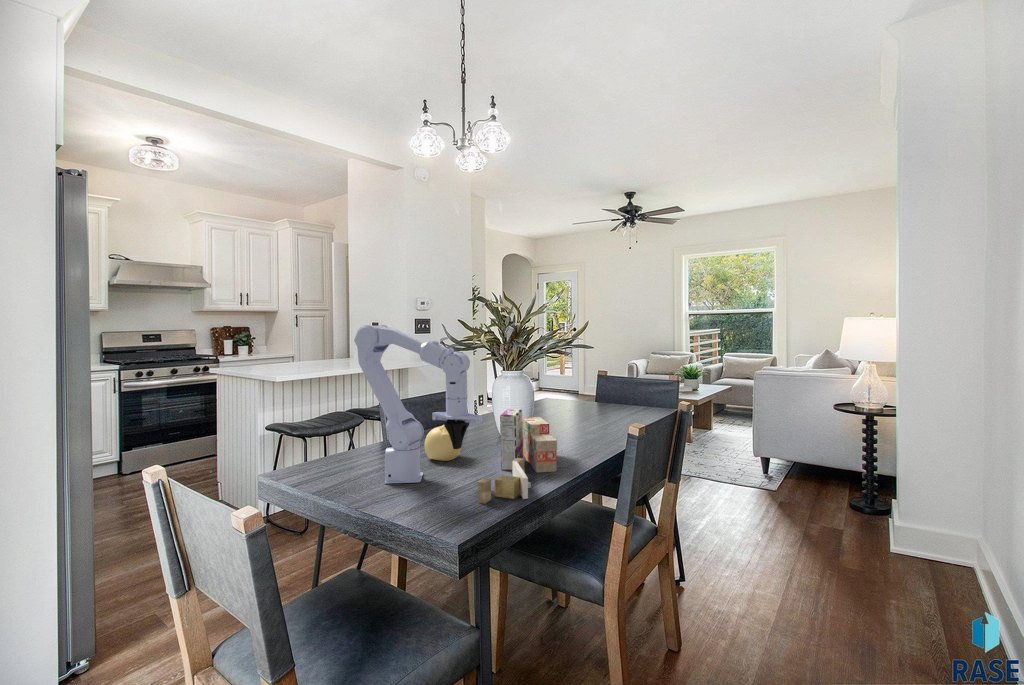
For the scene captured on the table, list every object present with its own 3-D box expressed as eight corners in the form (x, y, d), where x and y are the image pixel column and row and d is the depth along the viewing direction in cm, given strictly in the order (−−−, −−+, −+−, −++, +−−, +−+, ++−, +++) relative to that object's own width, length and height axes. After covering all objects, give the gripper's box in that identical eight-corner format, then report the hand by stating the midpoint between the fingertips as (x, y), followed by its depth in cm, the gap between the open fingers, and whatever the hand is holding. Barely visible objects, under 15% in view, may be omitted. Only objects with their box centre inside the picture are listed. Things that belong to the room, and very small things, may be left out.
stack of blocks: (557, 472, 140) (557, 429, 140) (535, 473, 139) (535, 430, 139) (540, 453, 161) (540, 416, 161) (522, 454, 160) (522, 417, 160)
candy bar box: (507, 460, 153) (507, 408, 152) (523, 460, 152) (523, 408, 151) (499, 470, 142) (499, 414, 142) (516, 471, 141) (516, 414, 141)
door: (523, 498, 117) (522, 478, 117) (512, 479, 132) (512, 461, 132) (532, 498, 118) (531, 477, 118) (520, 479, 133) (520, 461, 132)
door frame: (477, 502, 116) (477, 481, 116) (518, 475, 137) (517, 457, 137) (485, 503, 115) (484, 482, 115) (524, 476, 136) (524, 458, 136)
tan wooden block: (495, 497, 119) (494, 479, 119) (502, 492, 123) (501, 474, 123) (513, 500, 117) (513, 482, 117) (520, 495, 121) (520, 477, 121)
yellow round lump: (460, 463, 149) (459, 428, 149) (421, 463, 150) (420, 428, 149) (464, 454, 161) (464, 421, 160) (428, 454, 161) (428, 421, 161)
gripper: (425, 398, 129) (426, 449, 130) (472, 401, 123) (473, 454, 124) (440, 394, 136) (440, 443, 136) (486, 397, 130) (486, 448, 130)
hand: (457, 448), depth 130 cm, fingers closed
